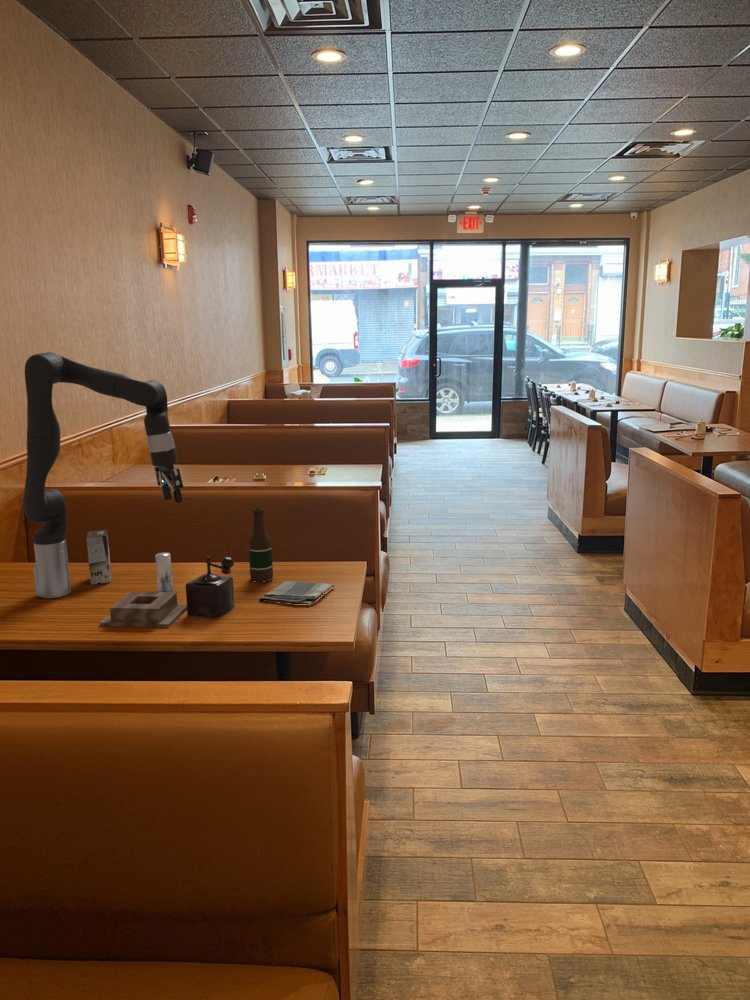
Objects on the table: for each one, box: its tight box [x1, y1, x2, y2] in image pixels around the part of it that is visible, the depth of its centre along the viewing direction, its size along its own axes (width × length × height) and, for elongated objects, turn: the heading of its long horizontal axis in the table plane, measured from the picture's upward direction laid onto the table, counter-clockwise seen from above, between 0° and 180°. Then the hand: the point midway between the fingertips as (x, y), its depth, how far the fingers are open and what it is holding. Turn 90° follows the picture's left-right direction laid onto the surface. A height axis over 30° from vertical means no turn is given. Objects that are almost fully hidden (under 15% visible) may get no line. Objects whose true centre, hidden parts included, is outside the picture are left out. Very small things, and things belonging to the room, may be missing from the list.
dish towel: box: [258, 580, 335, 606], centre depth 234 cm, size 19×18×3 cm
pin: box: [154, 552, 174, 592], centre depth 232 cm, size 4×4×14 cm
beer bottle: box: [248, 507, 274, 583], centre depth 248 cm, size 8×8×24 cm
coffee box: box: [85, 529, 112, 585], centre depth 252 cm, size 9×6×16 cm
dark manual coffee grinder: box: [185, 555, 235, 618], centre depth 219 cm, size 16×11×18 cm
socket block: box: [99, 591, 187, 628], centre depth 218 cm, size 20×16×5 cm
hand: (173, 501), depth 228 cm, fingers open, 8 cm apart
